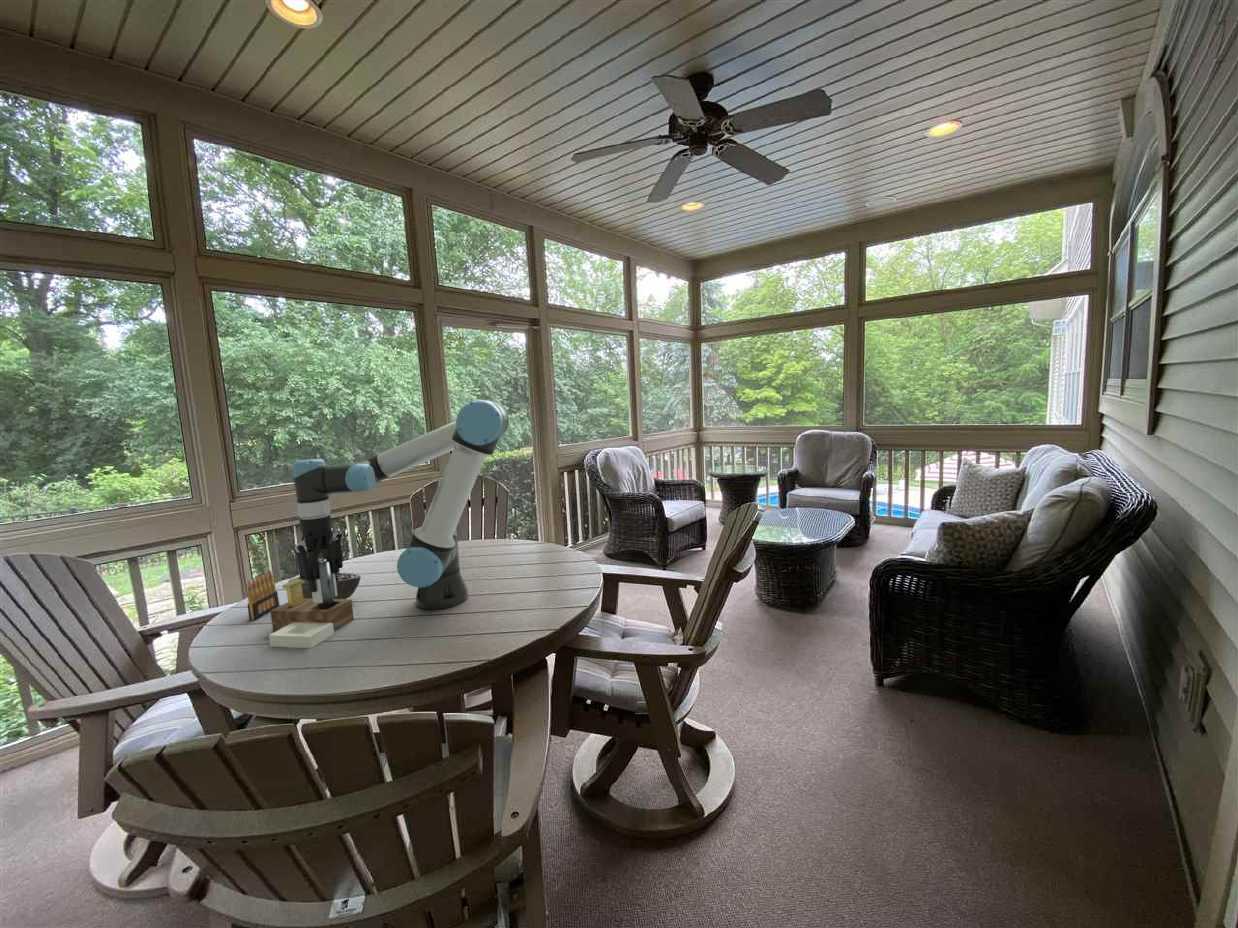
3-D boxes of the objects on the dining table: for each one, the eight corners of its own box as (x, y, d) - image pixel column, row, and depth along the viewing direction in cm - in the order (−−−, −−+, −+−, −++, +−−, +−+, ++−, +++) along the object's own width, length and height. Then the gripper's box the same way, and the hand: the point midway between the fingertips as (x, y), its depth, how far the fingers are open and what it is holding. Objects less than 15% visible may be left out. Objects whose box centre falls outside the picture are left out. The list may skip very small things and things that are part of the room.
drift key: (308, 612, 145) (304, 579, 144) (294, 620, 140) (289, 585, 139) (301, 612, 146) (296, 578, 144) (286, 620, 141) (282, 585, 140)
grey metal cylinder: (339, 615, 143) (332, 557, 141) (329, 621, 139) (321, 562, 137) (327, 615, 144) (319, 557, 142) (316, 621, 140) (308, 561, 138)
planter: (290, 606, 157) (282, 544, 155) (348, 590, 170) (341, 532, 167) (305, 619, 147) (296, 552, 145) (365, 600, 159) (358, 538, 157)
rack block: (334, 633, 136) (332, 623, 136) (311, 647, 128) (309, 636, 128) (295, 632, 138) (293, 621, 138) (270, 646, 131) (268, 635, 130)
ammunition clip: (255, 620, 148) (249, 581, 147) (249, 621, 148) (243, 581, 147) (279, 606, 159) (274, 569, 157) (273, 606, 159) (268, 569, 157)
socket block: (353, 619, 145) (351, 599, 144) (330, 633, 136) (328, 612, 136) (298, 617, 148) (296, 598, 148) (273, 631, 140) (270, 610, 139)
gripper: (332, 509, 147) (341, 587, 150) (274, 523, 131) (286, 609, 134) (351, 509, 145) (361, 588, 147) (295, 524, 129) (307, 612, 131)
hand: (325, 598), depth 141 cm, fingers closed on grey metal cylinder, 4 cm apart
